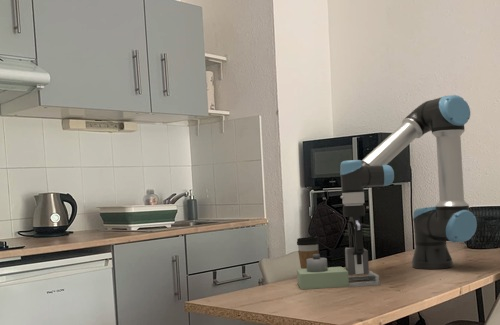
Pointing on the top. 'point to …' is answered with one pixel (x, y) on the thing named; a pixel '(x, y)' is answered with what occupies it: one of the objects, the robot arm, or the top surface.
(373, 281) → the chute bracket
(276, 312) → the top surface
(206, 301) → the top surface
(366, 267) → the grey block
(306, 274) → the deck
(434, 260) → the robot arm
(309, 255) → the coffee cup
